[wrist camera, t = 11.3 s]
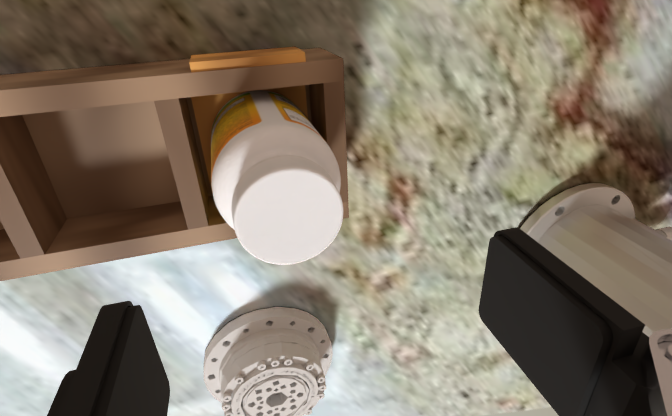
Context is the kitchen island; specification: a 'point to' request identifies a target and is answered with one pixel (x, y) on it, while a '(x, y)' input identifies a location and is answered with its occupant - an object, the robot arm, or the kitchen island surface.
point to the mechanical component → (269, 363)
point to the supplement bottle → (274, 178)
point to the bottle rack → (136, 152)
